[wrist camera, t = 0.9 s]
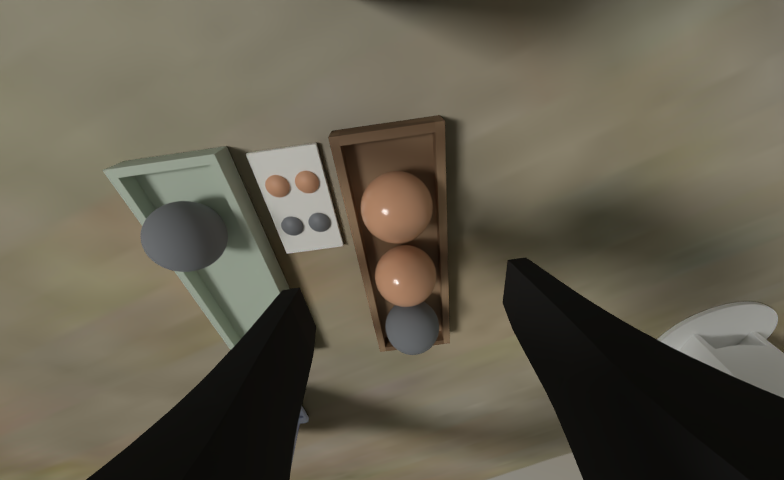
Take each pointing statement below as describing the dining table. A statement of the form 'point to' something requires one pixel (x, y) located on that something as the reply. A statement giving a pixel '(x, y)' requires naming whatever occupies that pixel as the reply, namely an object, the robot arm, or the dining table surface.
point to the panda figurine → (733, 343)
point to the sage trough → (238, 221)
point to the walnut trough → (384, 154)
